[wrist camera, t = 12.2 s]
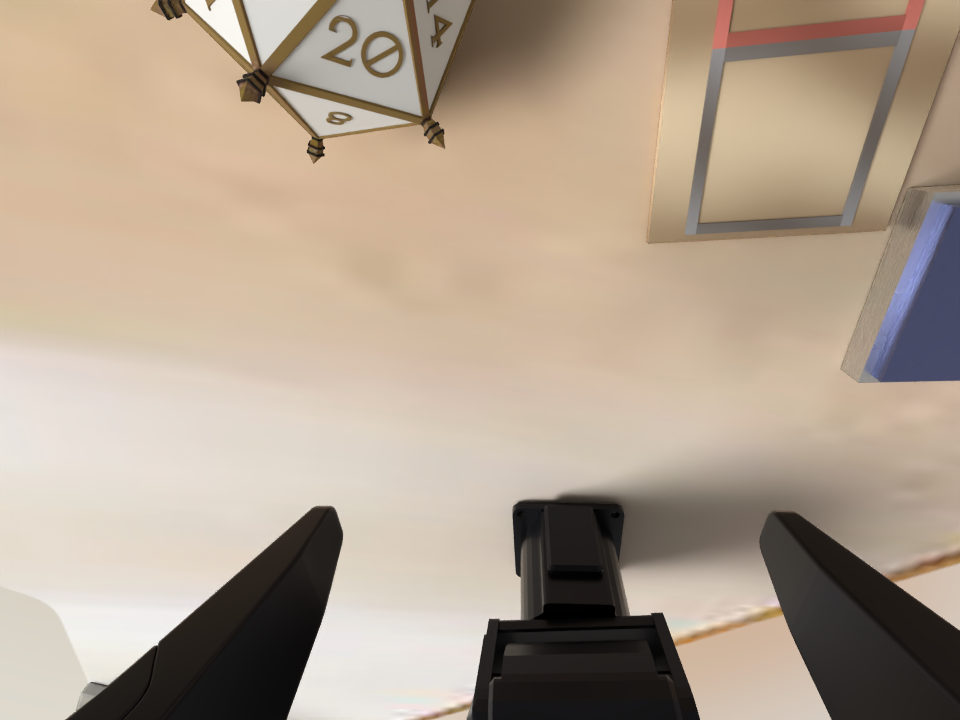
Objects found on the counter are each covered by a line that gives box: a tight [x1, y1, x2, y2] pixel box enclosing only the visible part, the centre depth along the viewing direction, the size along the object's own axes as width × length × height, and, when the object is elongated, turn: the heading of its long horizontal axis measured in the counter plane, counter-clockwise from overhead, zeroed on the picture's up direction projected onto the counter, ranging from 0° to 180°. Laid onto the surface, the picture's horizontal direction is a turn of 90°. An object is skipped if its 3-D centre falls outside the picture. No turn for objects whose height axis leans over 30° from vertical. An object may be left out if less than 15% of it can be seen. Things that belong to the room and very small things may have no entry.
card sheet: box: [646, 0, 960, 244], centre depth 15 cm, size 13×9×1 cm
